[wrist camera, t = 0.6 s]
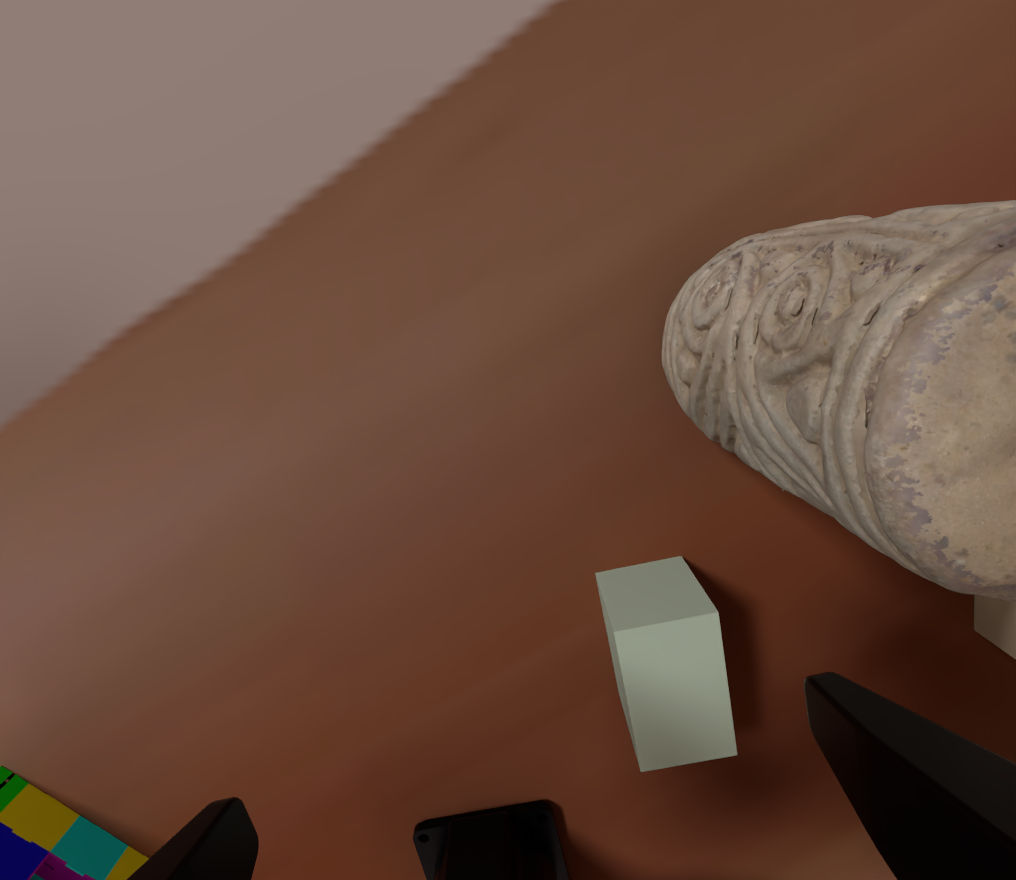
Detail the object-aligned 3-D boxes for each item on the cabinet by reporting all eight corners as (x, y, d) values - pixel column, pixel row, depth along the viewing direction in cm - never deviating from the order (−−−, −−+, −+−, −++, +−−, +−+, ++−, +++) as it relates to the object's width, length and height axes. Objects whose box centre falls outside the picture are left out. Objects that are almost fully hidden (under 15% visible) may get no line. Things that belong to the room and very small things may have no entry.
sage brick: (698, 677, 23) (737, 755, 19) (618, 692, 23) (640, 772, 19) (680, 554, 21) (718, 612, 18) (594, 571, 22) (613, 632, 18)
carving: (711, 476, 20) (979, 714, 9) (611, 308, 19) (780, 329, 7) (865, 385, 20) (1386, 519, 8) (774, 200, 18) (1265, 27, 6)
